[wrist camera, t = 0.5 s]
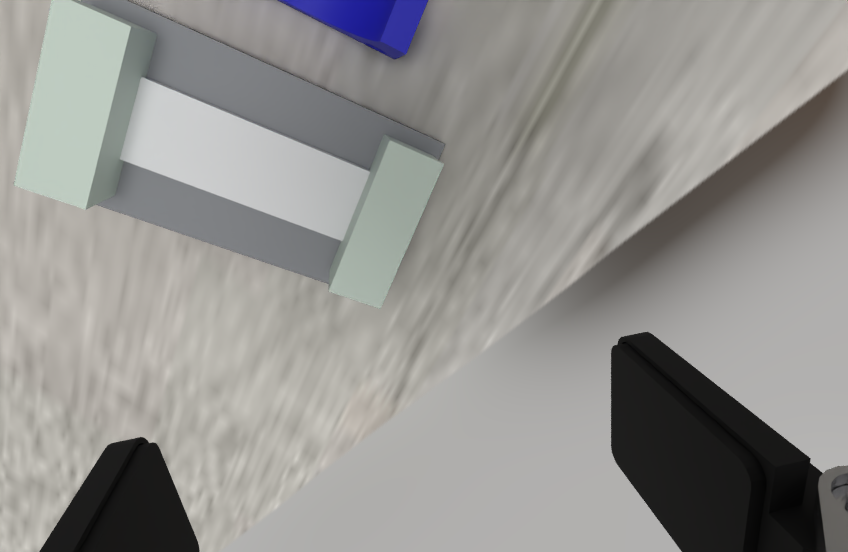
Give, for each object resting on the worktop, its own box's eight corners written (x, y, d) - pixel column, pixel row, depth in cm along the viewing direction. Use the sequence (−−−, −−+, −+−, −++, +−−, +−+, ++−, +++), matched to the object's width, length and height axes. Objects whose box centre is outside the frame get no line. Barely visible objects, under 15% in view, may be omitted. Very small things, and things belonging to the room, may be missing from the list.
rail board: (94, -15, 29) (46, -35, 24) (442, 142, 35) (458, 151, 30) (50, 182, 32) (-1, 199, 27) (376, 294, 38) (381, 324, 33)
